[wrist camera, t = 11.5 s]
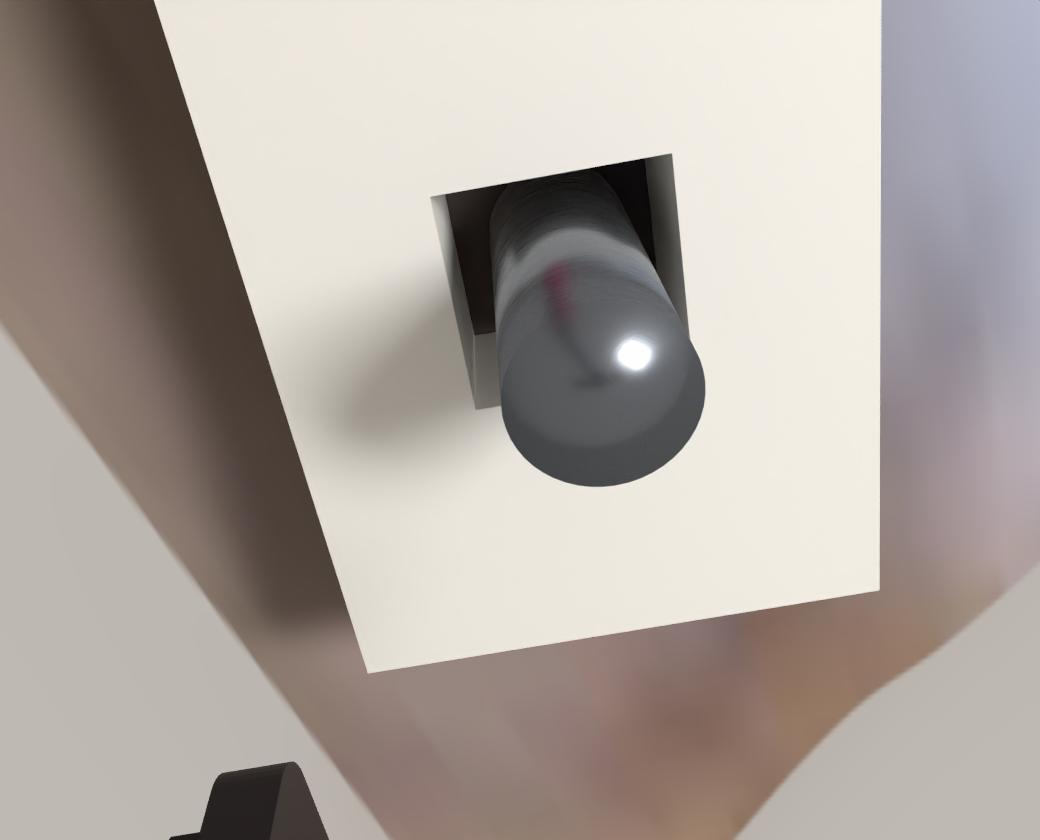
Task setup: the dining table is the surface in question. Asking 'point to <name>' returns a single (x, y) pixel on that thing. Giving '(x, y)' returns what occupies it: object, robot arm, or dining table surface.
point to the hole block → (473, 359)
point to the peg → (587, 336)
